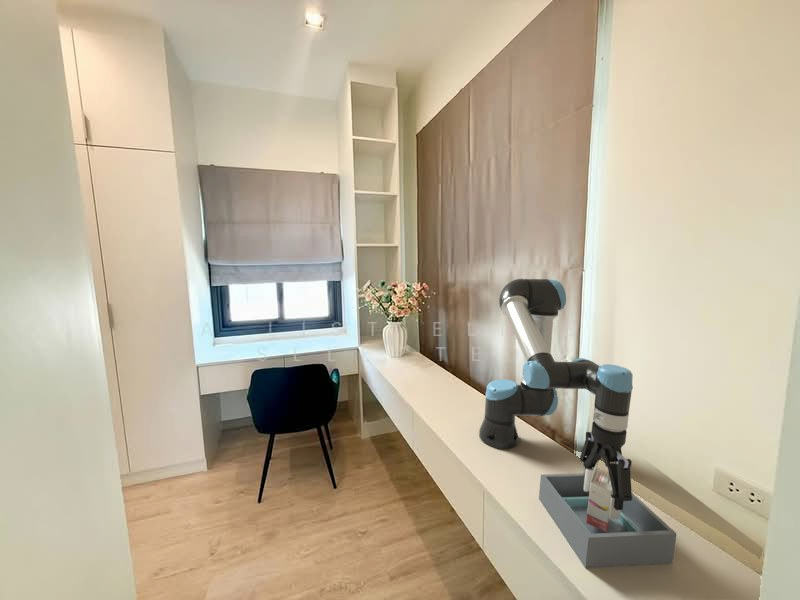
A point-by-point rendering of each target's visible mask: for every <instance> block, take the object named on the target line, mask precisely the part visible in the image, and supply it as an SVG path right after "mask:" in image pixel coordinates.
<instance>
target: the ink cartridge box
mask: <svg viewBox="0 0 800 600" xmlns="http://www.w3.org/2000/svg"><path fill="white" fill-rule="evenodd" d="M599 461H600V460H598V461H597V463H596V466H595V467H593V469H594V471H593V474H592V479H591V483H590V492H589V501H588V511H587V520H586V523H587V524H590V525H592V526H594V527H596V528H598V529H600V530H602V531H604V532H607V527H608V523H609V518H608V510H609V501H610V494H613V491H612V486H611V481H610V476H609V471H605V470H603V469H600V468H598V465H599Z"/></svg>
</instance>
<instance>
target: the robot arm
mask: <svg viewBox="0 0 800 600" xmlns="http://www.w3.org/2000/svg"><path fill="white" fill-rule="evenodd" d="M566 293H567V292H566V290H565V287H564V286H563V284H562V283H561V282H560V281H559V280H556V279H550V278H549V279H548V278H517V279H513V280H511V281H509V282H508V283H507V284H505V286H504V287H503V288H502V290H501V292H500V294H499V299H498V303H499V307H500V310H501V312H502V314H503V315H505V316H506V317H507V320H508V322H509V324H510V326H511V329H512V331H513V334H514V336H515V339H516V340H517V343H518V345H519V348H520V351H521V353H522V355H523V358H524V361H525V362H524V364H523V365H522V366H523V367H522V375H523V376H522V377H521V378H520V384H517V382H515V381H513V380H510V379H506V378H505V379H503V378H502V379H494V380H492V381H490V382H489V383H488V384H487V386H486V389H485V402H484V404H485V405H484V418H483V420H482V422H481V425H480V427H479V432H478V433H479V434H478V436H479V439H480V440H481V441H482V442H483V443H484V444H485V445H487V446H490V447H492V448H496V449H500V450H501V449H502V450H508V449H513V448H515V447H516V446H518V443H519V434H518V430H517V425H516V417H517V416H522V417H523V416H529V417H531V416H532V417H536V416H537V417H543V416H544V417H546V416H551V415H553V414H554V413H555V411H556V410H557V407H558V405H559V397H558V392H557V390H556V389H566V390H567V389H568V390H574V389H575V390H587V391H588V392H589V393H591V394H593V395H594V403H593V404H594V409H593V417H592V418H593V419H592V420H593V421H592V424H591V431H586V432H585V440H584V443H583V446H582V450H581V454H580V456H579V460H580V462H582V463H583V467H584V472H583V473H584V477H585V479H584V488H583V490H584V491H585V492H588V491H590V483H591V479H592V474H593V471H594V468H595V466H596V463H597V461H598V460H599V461H600V460H601V459H603V461H604V465H605V467H607V470H608V471H607V472H608V473H609V476H610V481H611V486H612V491H613V494H610V501H609V510H608V518H609V519H620V514H621V510H622V509H623V502H624V501H632V493H633V492H632V481H631V480H632V479H631V467H632V462H633V461H632V460H631V459H630V458H627V459H626V458H625V456H623V453H622V448H623V446H625V444H626V439H627V429H628V426H629V425H628V423H629V415H630V414H629V413H630V406H631V399H632V392H633V388H634V387H633V372H632V371H631V370H630V369H628V368H626V367H624V366H620V365H616V364H609V363H607V364H601V365H599V364H597V363H595V362H594V361H592V360H591V359H587V358H582V357H580V358H575V359H573V360H571V361H556V360H555V359H554V357H553V355H552V353H551V350H552V339H553V327H554V326H553V325H554V319H555V318H557V317H558V316H559V311H561V310H563V309H564V308H565V307H566V305H567V304H566V303H567V295H566ZM599 461H598V462H599ZM618 491H619V492H618Z"/></svg>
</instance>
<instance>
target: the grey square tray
mask: <svg viewBox="0 0 800 600" xmlns="http://www.w3.org/2000/svg"><path fill="white" fill-rule="evenodd" d="M584 479H585V477H584V472H581V473H550V474H547V473H546V474H540V480H539V482H540V483H539V490H538V491H539V494H538V500H539V502H540V503H541V504H542V505H543V507H544V509H545V510H546V512H547V513H548V515H549V516H550V517H551V519H552V521H553V520H554V521H553V522H554V524H555V523H556V524H555V525H556V527H557V526H558V527H557V528H558V529H560V530H559V531H560V532H561V534H562V536H563V537H564V538H566V539H565V540H566V541H567V543H568V544H569V546H570V547H571V549H572V551H574V554H575V555H576V556H577V558H578V559H579V561H580V562H581V564H582V565H583V567H584V568H586V569H590V568H608V567H609V568H610V567H631V566H646V565H647V566H649V565H664V564H665V565H668V564H669V565H670V564H673V561H674V560H673V559H674V553H675V547H676V540H677V532H676V531H674V529H672V528H671V527H670V526H669V525H668V524H667V523H666V522H664V521H663V519H661V518H660V517H659V515H657V514H656V513H655V512H654V511H653V510H651V508H649V507H648V506H647V505H646V504H645V503H644V502H643V501H642V500H641V499H639V498H638V496H636V495H635V494H634V493H633V492H632V501H624V502H623V509H622V510H621V514H620V519H609V523H608V527H607V532H604V531H602V530H600V529H598V528H596V527H594V526H592V525H590V524H587V523H586V520H587V511H588V501H589V492H590V491H588V492H585V491H584V490H583V488H584ZM618 492H619V491H618Z"/></svg>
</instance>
